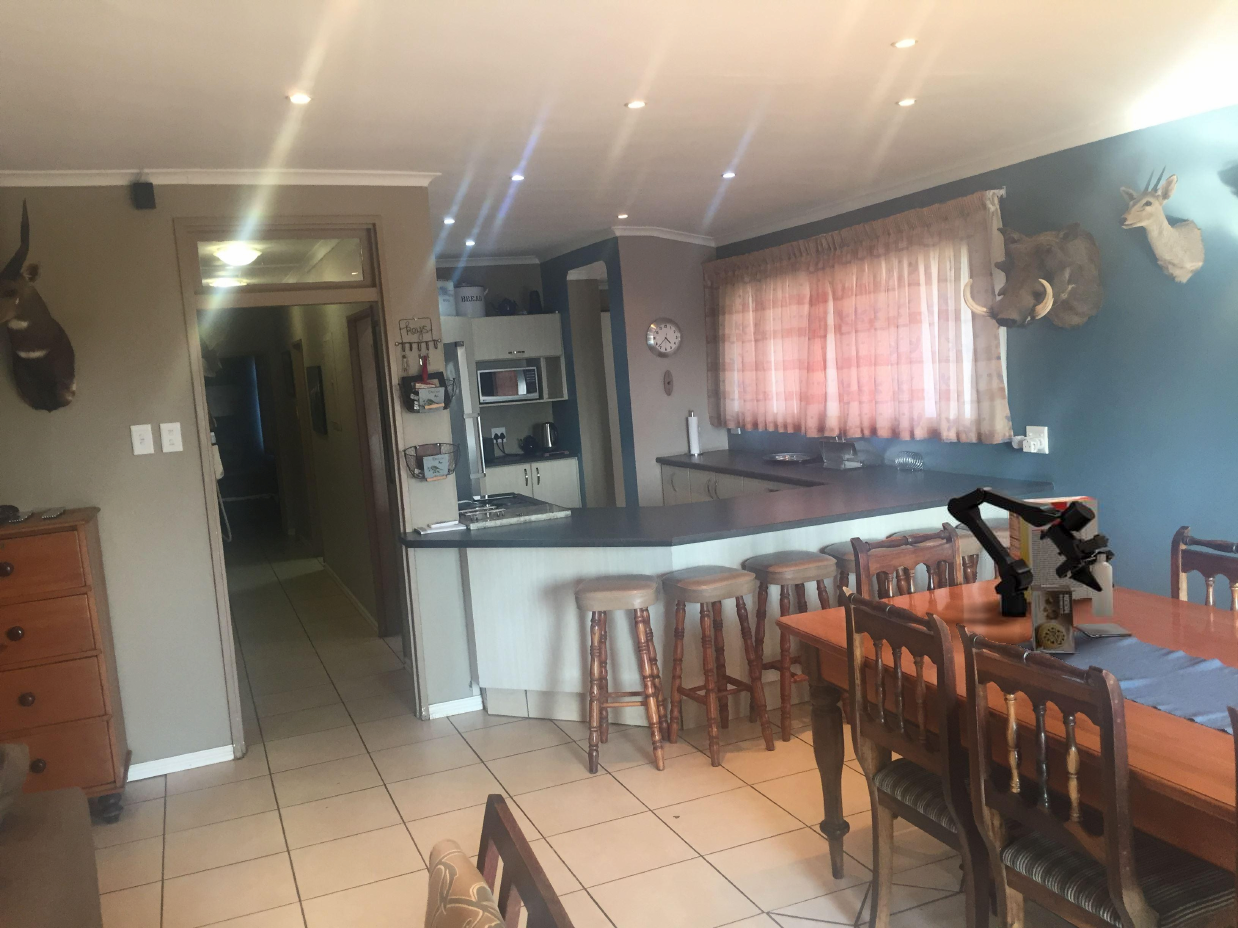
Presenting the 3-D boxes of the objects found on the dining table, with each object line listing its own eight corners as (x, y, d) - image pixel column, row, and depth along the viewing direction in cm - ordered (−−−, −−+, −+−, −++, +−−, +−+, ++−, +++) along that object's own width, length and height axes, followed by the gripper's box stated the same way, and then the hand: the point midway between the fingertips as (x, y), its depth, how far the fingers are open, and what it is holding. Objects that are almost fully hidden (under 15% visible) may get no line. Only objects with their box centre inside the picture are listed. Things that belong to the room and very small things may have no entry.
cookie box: (1071, 646, 226) (1069, 584, 225) (1075, 654, 220) (1073, 590, 219) (1031, 645, 229) (1029, 583, 228) (1034, 653, 223) (1032, 589, 222)
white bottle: (1088, 614, 238) (1087, 554, 237) (1099, 611, 240) (1098, 551, 239) (1105, 618, 234) (1104, 557, 232) (1116, 614, 236) (1115, 554, 235)
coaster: (1091, 637, 233) (1091, 634, 233) (1075, 626, 243) (1075, 624, 243) (1131, 635, 232) (1131, 633, 232) (1113, 625, 242) (1113, 622, 242)
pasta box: (1086, 591, 278) (1084, 496, 276) (1099, 598, 270) (1097, 499, 268) (1011, 596, 279) (1008, 500, 277) (1021, 602, 271) (1019, 504, 269)
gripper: (1065, 529, 234) (1106, 577, 225) (1107, 519, 243) (1149, 565, 235) (1038, 554, 241) (1077, 602, 233) (1080, 544, 251) (1119, 590, 242)
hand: (1107, 589), depth 235 cm, fingers closed on white bottle, 5 cm apart
